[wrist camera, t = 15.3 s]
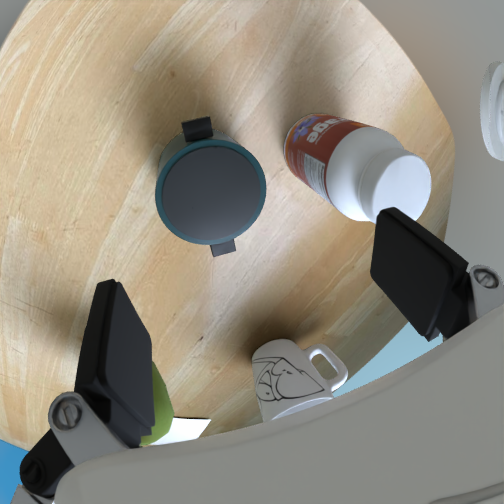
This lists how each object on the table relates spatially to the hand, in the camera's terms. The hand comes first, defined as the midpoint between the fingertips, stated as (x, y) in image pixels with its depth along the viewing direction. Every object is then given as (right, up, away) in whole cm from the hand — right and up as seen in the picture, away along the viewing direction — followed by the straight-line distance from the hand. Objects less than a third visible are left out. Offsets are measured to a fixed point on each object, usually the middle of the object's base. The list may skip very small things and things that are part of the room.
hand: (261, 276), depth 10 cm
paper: (-20, -29, +29) cm, 45 cm away
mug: (+4, -12, +26) cm, 29 cm away
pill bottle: (+5, +10, +13) cm, 17 cm away
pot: (-4, +7, +11) cm, 14 cm away
